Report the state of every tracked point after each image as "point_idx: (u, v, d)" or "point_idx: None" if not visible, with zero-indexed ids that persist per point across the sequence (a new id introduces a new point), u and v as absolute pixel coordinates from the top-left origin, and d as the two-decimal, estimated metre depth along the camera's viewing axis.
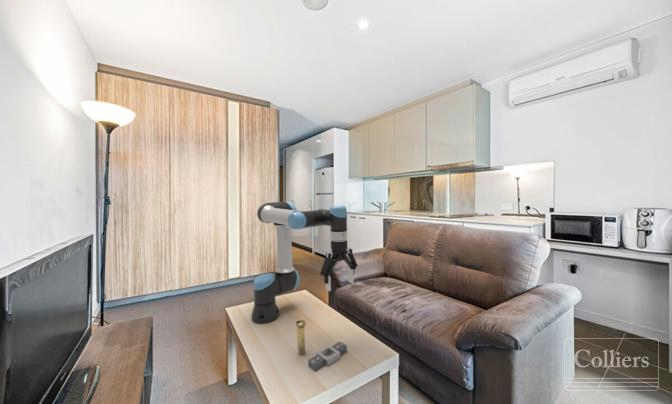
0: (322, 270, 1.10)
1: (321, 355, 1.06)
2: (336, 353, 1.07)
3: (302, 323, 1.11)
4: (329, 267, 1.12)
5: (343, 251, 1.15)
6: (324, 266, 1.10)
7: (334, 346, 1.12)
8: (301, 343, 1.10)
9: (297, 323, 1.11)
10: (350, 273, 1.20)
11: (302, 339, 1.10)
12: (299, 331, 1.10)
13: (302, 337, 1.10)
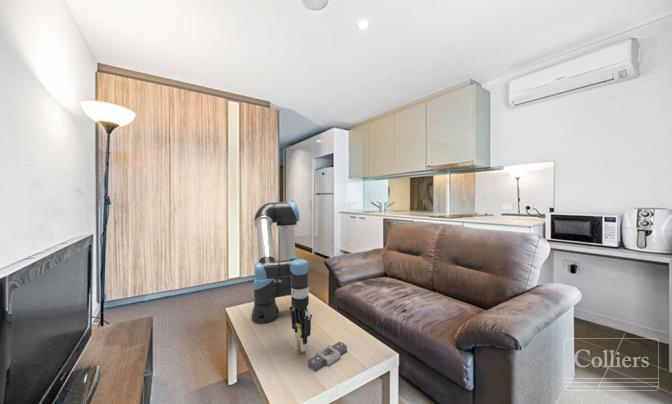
0: None
1: (321, 355, 1.06)
2: (336, 353, 1.07)
3: None
4: None
5: (300, 308, 1.09)
6: None
7: (334, 346, 1.12)
8: None
9: (297, 323, 1.11)
10: None
11: None
12: (299, 331, 1.10)
13: None
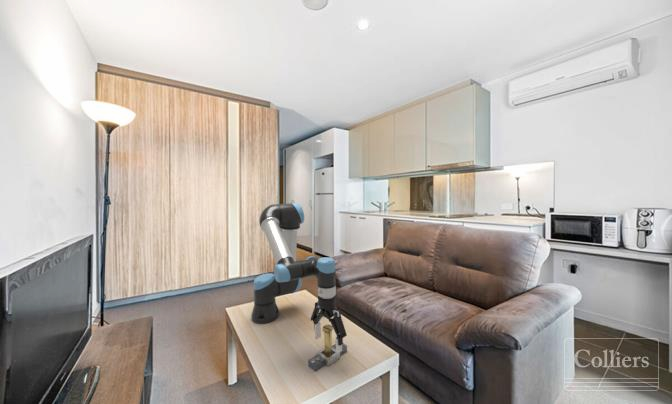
0: None
1: (321, 355, 1.06)
2: (336, 353, 1.07)
3: (329, 328, 1.07)
4: None
5: (327, 309, 1.05)
6: None
7: (334, 346, 1.12)
8: (329, 348, 1.06)
9: (324, 328, 1.07)
10: None
11: (329, 344, 1.06)
12: (326, 336, 1.06)
13: (329, 342, 1.06)
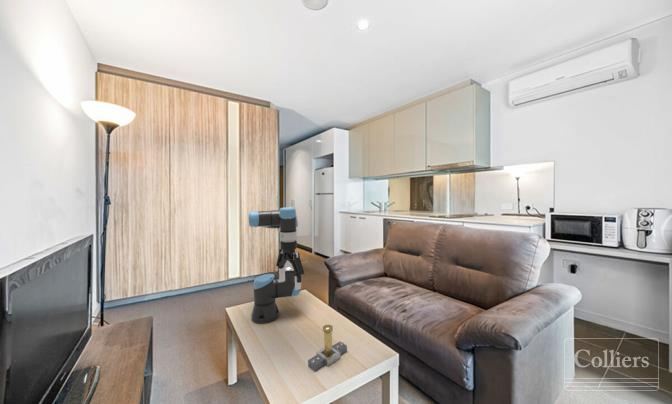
0: None
1: (321, 355, 1.06)
2: (336, 353, 1.07)
3: (329, 328, 1.07)
4: None
5: (288, 252, 1.17)
6: None
7: (334, 346, 1.12)
8: (329, 348, 1.06)
9: (324, 328, 1.07)
10: None
11: (329, 344, 1.06)
12: (326, 336, 1.06)
13: (329, 342, 1.06)
